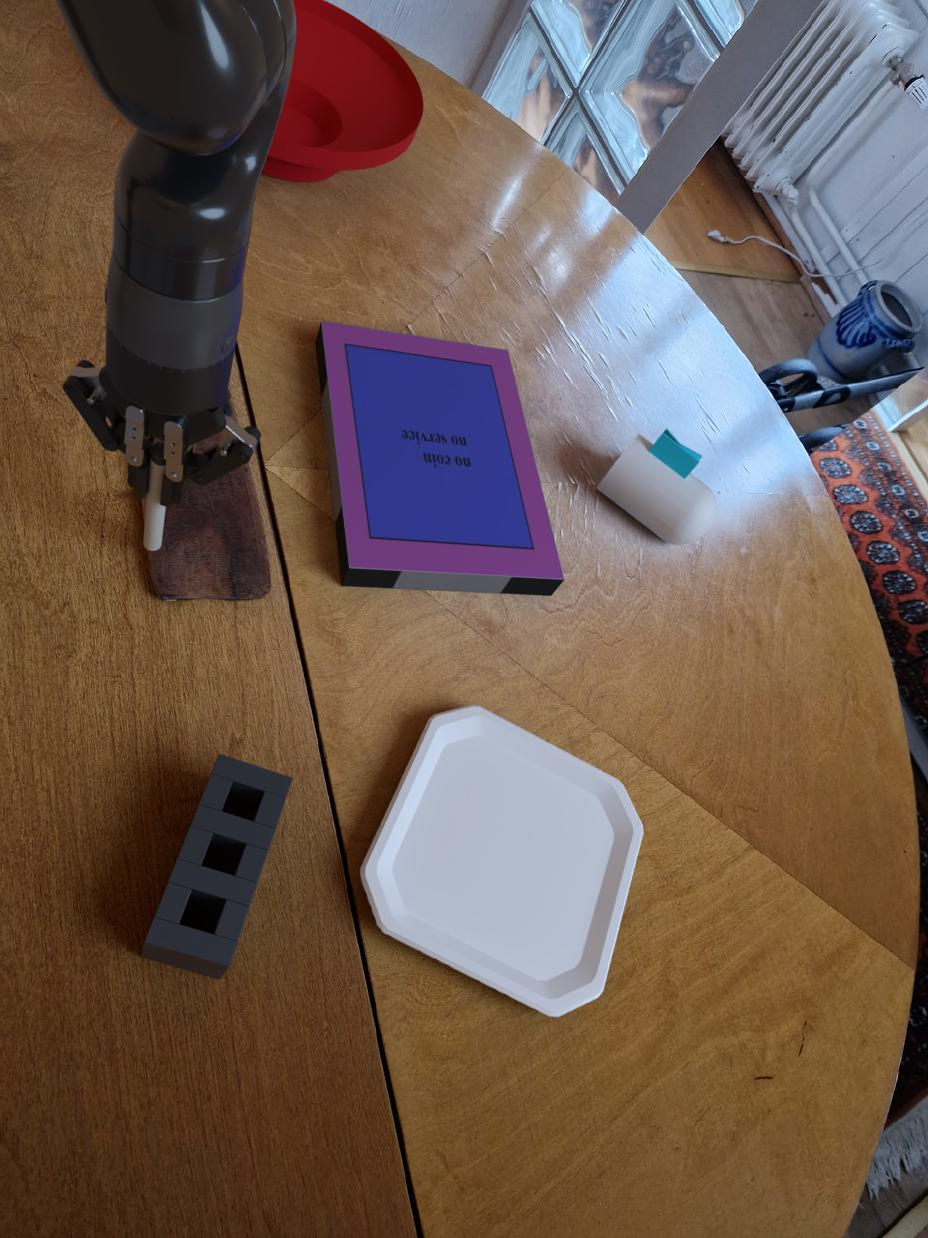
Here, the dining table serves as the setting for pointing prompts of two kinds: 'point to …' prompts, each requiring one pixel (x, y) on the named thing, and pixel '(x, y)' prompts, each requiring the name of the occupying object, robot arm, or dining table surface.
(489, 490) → the book
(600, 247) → the dining table surface
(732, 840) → the dining table surface
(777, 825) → the dining table surface
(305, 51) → the bowl
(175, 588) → the wooden tablet
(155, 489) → the stylus
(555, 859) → the plate
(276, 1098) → the dining table surface
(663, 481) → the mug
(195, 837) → the pen block
